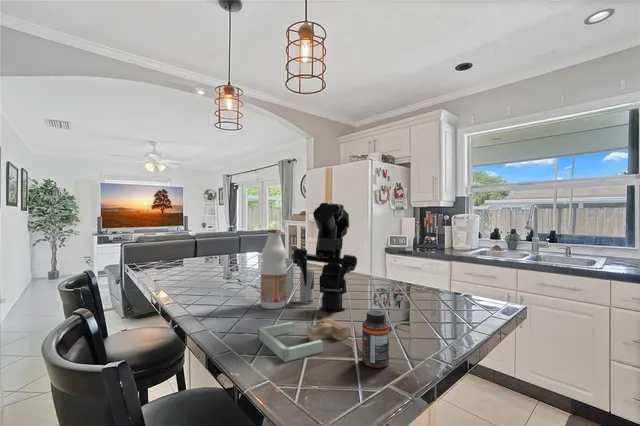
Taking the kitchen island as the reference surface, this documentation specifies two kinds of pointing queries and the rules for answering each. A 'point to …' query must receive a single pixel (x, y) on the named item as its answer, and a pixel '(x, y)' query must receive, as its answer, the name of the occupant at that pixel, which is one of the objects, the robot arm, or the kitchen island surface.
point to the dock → (281, 350)
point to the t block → (327, 330)
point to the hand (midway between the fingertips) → (321, 287)
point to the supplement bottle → (375, 340)
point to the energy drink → (307, 288)
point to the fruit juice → (273, 272)
